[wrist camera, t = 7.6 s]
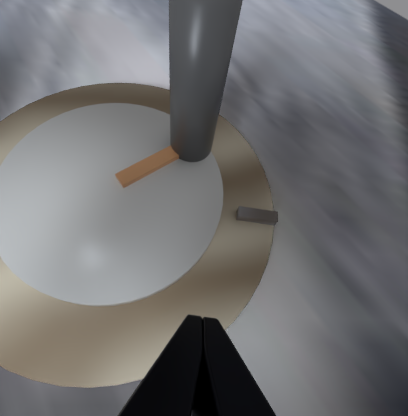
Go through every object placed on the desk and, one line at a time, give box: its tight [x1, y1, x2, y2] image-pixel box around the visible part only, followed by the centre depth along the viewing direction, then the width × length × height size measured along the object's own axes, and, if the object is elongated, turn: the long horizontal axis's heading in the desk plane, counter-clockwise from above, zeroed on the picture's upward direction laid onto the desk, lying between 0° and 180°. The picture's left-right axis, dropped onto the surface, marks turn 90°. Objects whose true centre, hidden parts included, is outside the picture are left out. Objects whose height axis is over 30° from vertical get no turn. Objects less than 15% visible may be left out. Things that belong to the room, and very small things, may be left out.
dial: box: [0, 0, 242, 307], centre depth 11 cm, size 12×12×9 cm
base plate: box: [0, 83, 278, 388], centre depth 15 cm, size 18×18×2 cm
